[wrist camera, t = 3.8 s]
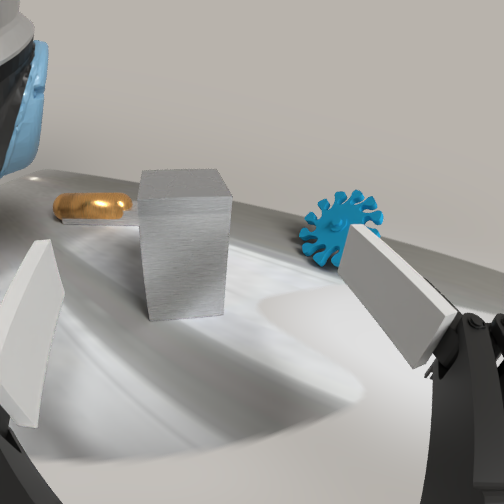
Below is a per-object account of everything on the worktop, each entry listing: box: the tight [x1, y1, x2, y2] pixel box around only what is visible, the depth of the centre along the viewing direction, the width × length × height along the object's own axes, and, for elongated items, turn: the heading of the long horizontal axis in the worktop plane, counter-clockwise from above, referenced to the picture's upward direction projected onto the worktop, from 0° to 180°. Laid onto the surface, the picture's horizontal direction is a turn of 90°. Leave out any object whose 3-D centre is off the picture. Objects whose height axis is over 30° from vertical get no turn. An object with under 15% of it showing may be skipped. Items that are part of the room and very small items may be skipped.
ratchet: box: [53, 193, 139, 226], centre depth 35 cm, size 22×7×5 cm, turn 96°
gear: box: [299, 190, 383, 267], centre depth 34 cm, size 11×6×10 cm
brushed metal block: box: [137, 169, 233, 321], centre depth 24 cm, size 6×6×10 cm
